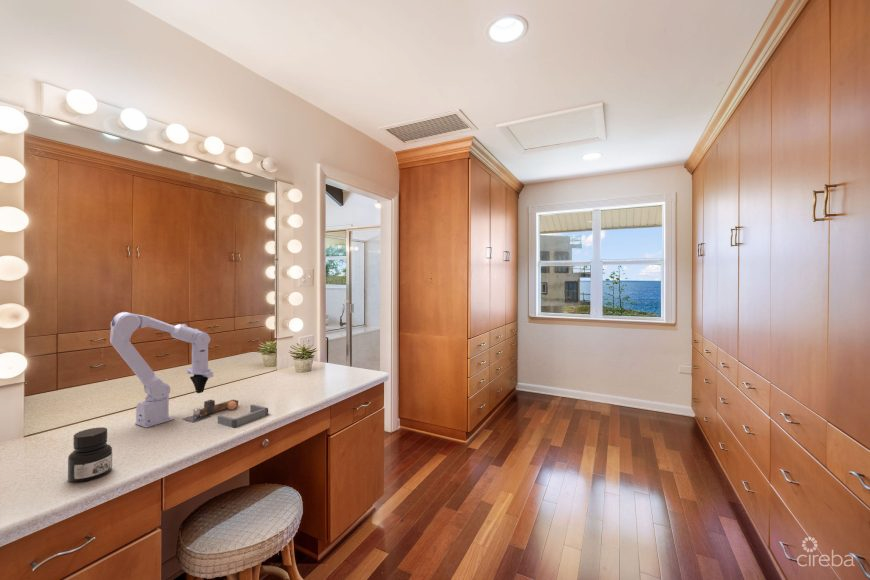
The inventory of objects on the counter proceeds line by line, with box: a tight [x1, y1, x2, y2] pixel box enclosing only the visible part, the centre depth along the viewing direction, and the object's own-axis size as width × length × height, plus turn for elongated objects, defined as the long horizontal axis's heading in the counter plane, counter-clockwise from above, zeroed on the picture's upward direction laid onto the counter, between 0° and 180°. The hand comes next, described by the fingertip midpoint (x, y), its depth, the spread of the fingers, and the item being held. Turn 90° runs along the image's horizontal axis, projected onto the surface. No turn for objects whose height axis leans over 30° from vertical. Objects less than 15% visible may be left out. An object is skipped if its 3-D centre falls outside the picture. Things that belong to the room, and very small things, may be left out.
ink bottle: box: [67, 426, 113, 483], centre depth 100 cm, size 10×9×12 cm
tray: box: [217, 404, 269, 429], centre depth 142 cm, size 15×9×3 cm, turn 155°
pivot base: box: [181, 407, 212, 423], centre depth 142 cm, size 7×7×4 cm
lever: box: [200, 399, 239, 415], centre depth 150 cm, size 14×4×5 cm, turn 155°
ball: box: [227, 401, 238, 411], centre depth 153 cm, size 4×4×4 cm
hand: (199, 392), depth 150 cm, fingers closed
